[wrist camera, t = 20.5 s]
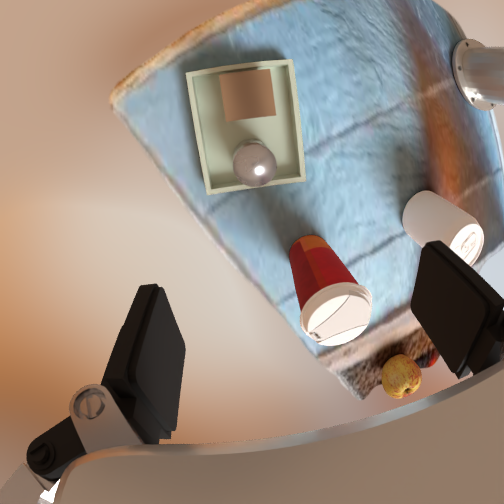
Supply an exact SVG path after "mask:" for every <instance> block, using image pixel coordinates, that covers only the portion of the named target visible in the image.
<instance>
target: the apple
mask: <svg viewBox="0 0 504 504" xmlns="http://www.w3.org/2000/svg"><path fill="white" fill-rule="evenodd" d="M421 381H422V374H421V370H420V368H419V366H418V365H417V364H416V363H415V362H414V361H413V360H411V359H410V358H408V357H407V356H405V355H403V354H398V355H395V356H393V357H392V358H390V359H389V360H388V361H387V362H386V363H385V364H384V366H383V370H382V385H383V388H384V390H385V391H386V393H387V394H388V395H389V396H391V397H393V398H403V397H406V396H409V395H411V394H412V393H414V392H415V391H416V390H417V389H418V388H419V386H420V384H421Z"/></svg>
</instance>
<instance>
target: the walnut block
mask: <svg viewBox="0 0 504 504" xmlns="http://www.w3.org/2000/svg"><path fill="white" fill-rule="evenodd" d="M219 79H220V85H221V92H222V99H223V105H224V112H225V118H226V122H229V121H236V120H243V119H250V118H258V117H267V116H276V109H275V101H274V94H273V86H272V79H271V72H270V69H261V70H252V71H243V72H235V73H228V74H222V75H219Z"/></svg>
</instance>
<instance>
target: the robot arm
mask: <svg viewBox="0 0 504 504" xmlns="http://www.w3.org/2000/svg"><path fill="white" fill-rule="evenodd" d="M452 64H453V72H454V77H455V80H456V83H457V85H458V88H459V90H460V92H461V93H462V95H463V97H464V98H465V99H466V101H467V102H468V103H469V104H470V105H471V106H473V107H474V108H476V109H479V110H483V111H489V110H491V109H493V108H494V107H495V106H496V105H497V104H499V105H504V47H485V46H484V45H483V44H481V43H480V42H478V41H476V40H473V39H464V40H461V41H460V42H458V43H457V45H456V46H455V49H454V51H453V58H452ZM503 307H504V299H503V298H502V297H501V296H500V295H499V294H498V293H497V292H496V291H495V290H494V289H493V288H492V287H491V286H490V285H489V284H488V283H487V282H486V281H485V280H484V279H483V278H482V277H481V276H480V275H479V274H478V273H477V272H476V271H475V270H474V269H473V268H471V267H470V266H469V265H468V264H467V263H466V262H465V261H464V260H463V259H462V258H460V257H459V256H458V255H457V254H456V253H455V252H454V251H453V250H451V249H450V248H449V247H448V246H447V245H446V244H444V243H443V242H442V241H440V240H436V241H431V242H427V243H426V244H425V246H424V247H423V248H422V251H421V256H420V262H419V267H418V272H417V277H416V282H415V287H414V291H413V296H412V300H411V310H412V313H413V314H414V315H415V317H416V318H417V320H418V321H419V323H420V324H421V326H422V327H423V329H424V330H425V332H426V333H427V335H428V336H429V338H430V339H431V341H432V342H433V344H434V345H435V347H436V348H437V350H438V351H439V353H440V355H441V356H442V358H443V359H444V361H445V362H446V364H447V366H448V367H449V369H450V370H451V372H453V373H455V374H456V376H457V378H458V379H460V378H463V377H464V376H467V375H468V374H469V373H470V371H472V373H473V376H472V377H470V378H468V379H466V380H464V381H462V382H460V383H458V384H456V385H454V386H451V387H449V388H447V389H445V390H442V391H440V392H438V393H435V394H433V395H431V396H428V397H426V398H423V399H421V400H418V401H416V402H413V403H410V404H407V405H405V406H402V407H399V408H396V409H393V410H390V411H387V412H384V413H381V414H378V415H374V416H371V417H368V418H364V419H361V420H357V421H353V422H350V423H346V424H342V425H337V426H333V427H329V428H324V429H320V430H315V431H310V432H305V433H300V434H294V435H288V436H281V437H274V438H266V439H258V440H249V441H238V442H224V443H207V444H159V439H171V431H175V430H176V427H177V417H178V408H179V398H180V390H181V382H182V374H183V367H184V359H185V351H186V349H185V343H184V340H183V338H182V335H181V333H180V330H179V328H178V325H177V323H176V320H175V317H174V315H173V312H172V310H171V307H170V304H169V302H168V299H167V296H166V293H165V291H164V289H163V288H162V287H158V285H157V284H148V285H141V286H140V287H139V289H138V291H137V293H136V296H135V298H134V301H133V303H132V305H131V308H130V310H129V313H128V315H127V318H126V320H125V323H124V325H123V326H122V328H121V330H120V332H119V335H118V337H117V340H116V343H115V345H114V348H113V351H112V353H111V356H110V359H109V362H108V364H107V367H106V370H105V373H104V376H103V379H102V382H101V385H98V384H91V385H87V386H84V387H82V388H81V389H79V390H78V391H77V392H76V393H75V394H74V395H73V397H72V399H71V401H70V405H69V411H70V416H69V417H68V418H66V419H64V420H63V421H62V422H60V423H59V424H57V425H55V426H54V427H52V428H51V429H49V430H48V431H46V432H45V433H43V434H42V435H40V436H39V437H37V438H36V439H35V440H33V441H32V442H31V444H30V445H29V447H28V450H27V464H25V463H22V464H21V465H20V466H19V467H18V469H17V470H16V471H15V472H14V473H13V475H12V476H11V477H10V478H9V480H8V481H7V482H6V483H5V485H4V486H3V487H2V488H1V489H0V504H504V311H503Z"/></svg>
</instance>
